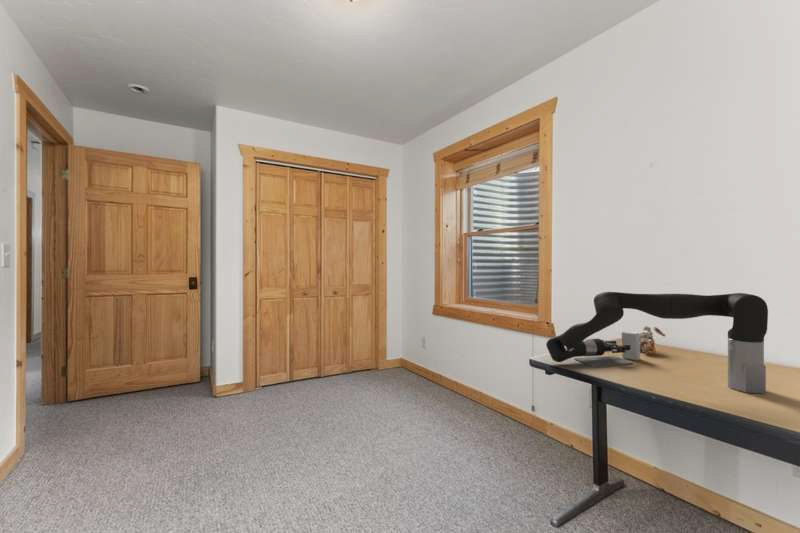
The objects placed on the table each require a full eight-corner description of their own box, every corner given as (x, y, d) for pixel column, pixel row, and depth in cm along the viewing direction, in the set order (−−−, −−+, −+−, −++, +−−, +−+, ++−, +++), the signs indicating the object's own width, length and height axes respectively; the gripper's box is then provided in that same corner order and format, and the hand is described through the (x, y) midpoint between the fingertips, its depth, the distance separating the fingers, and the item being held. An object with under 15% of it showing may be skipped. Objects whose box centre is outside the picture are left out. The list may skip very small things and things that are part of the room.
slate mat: (592, 367, 157) (592, 365, 157) (574, 359, 169) (574, 358, 169) (633, 364, 161) (633, 362, 161) (613, 356, 172) (613, 355, 172)
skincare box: (640, 359, 168) (640, 332, 168) (636, 360, 165) (636, 334, 165) (625, 356, 173) (625, 330, 173) (621, 358, 170) (621, 332, 170)
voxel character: (637, 357, 177) (631, 338, 189) (658, 364, 175) (651, 343, 187) (649, 340, 171) (641, 321, 183) (671, 347, 169) (662, 327, 181)
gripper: (601, 342, 159) (634, 340, 161) (580, 336, 173) (611, 334, 175) (601, 360, 159) (635, 357, 161) (580, 352, 173) (611, 349, 175)
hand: (622, 345), depth 168 cm, fingers open, 8 cm apart
